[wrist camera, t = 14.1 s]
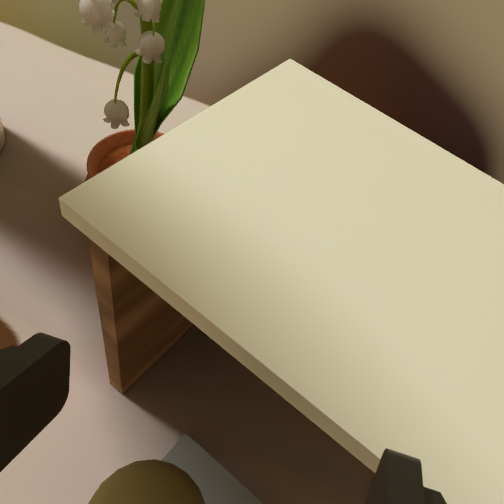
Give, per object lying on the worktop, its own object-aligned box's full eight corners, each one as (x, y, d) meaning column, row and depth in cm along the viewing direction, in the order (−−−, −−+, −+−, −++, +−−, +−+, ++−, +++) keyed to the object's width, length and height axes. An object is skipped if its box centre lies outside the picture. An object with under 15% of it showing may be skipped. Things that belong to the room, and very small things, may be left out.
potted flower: (147, 287, 39) (151, -42, 19) (45, 234, 40) (-49, -126, 21) (216, 199, 46) (269, -107, 26) (127, 156, 47) (115, -165, 28)
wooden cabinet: (99, 393, 33) (58, 197, 17) (236, 265, 42) (292, 57, 26) (392, 669, 27) (741, 752, 11) (482, 451, 36) (749, 326, 20)
